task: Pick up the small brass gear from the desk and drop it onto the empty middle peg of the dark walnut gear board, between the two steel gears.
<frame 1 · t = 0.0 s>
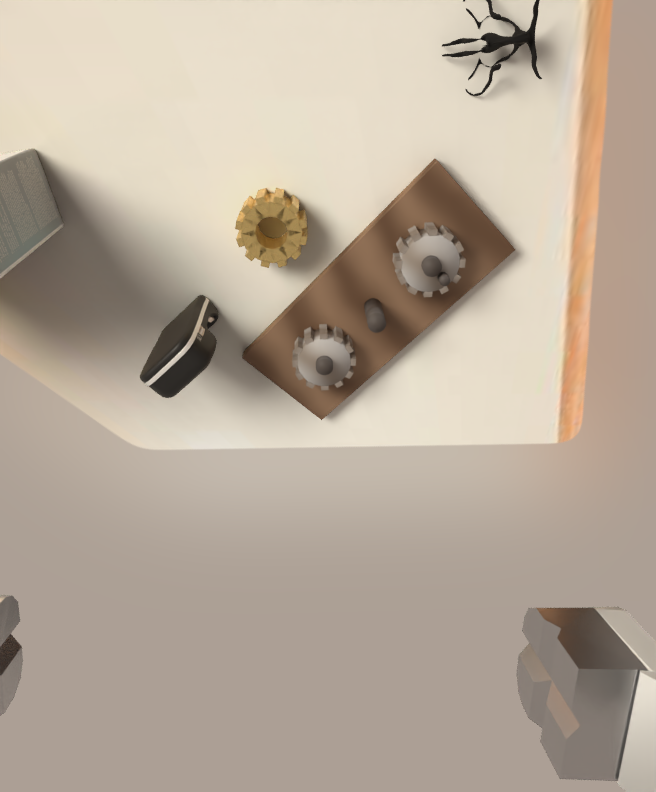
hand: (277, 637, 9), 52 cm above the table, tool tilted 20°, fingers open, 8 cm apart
brass gear: (273, 222, 57), on the table
battery charger: (195, 322, 63), on the table
creature: (482, 43, 50), on the table
gear board: (371, 300, 62), on the table
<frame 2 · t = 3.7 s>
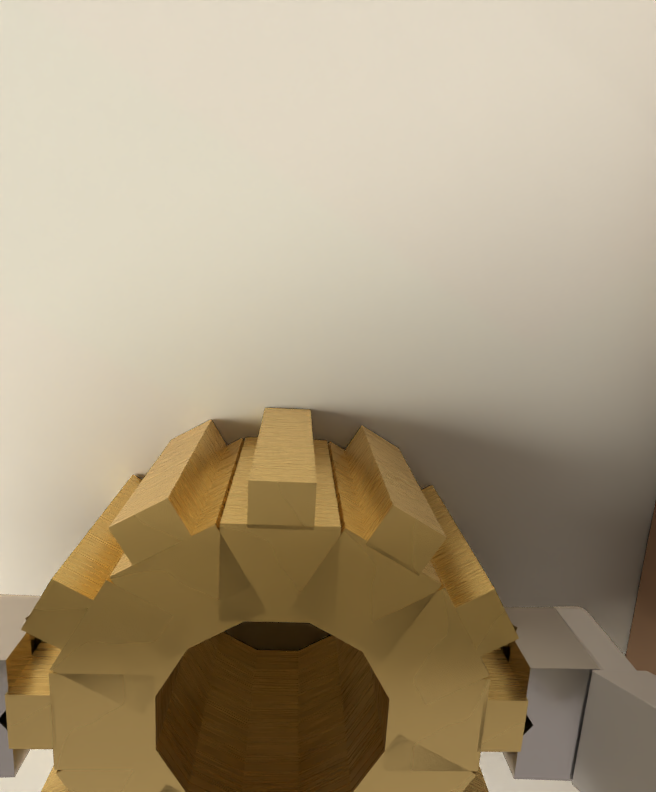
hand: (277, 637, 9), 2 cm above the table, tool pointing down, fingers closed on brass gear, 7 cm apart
brass gear: (280, 580, 11), on the table, touching gripper
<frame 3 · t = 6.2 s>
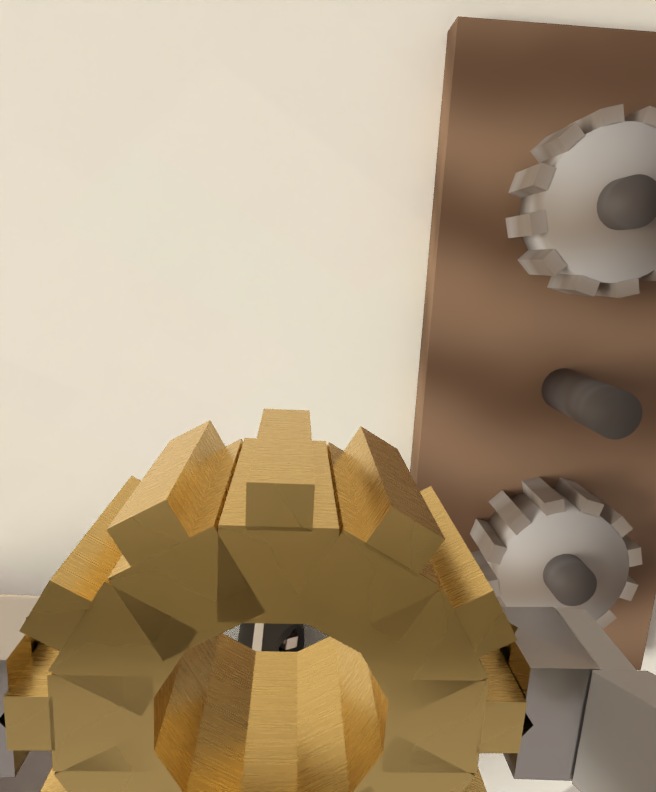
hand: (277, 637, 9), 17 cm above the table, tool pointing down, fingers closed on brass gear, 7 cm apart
brass gear: (279, 581, 11), point 16 cm above the table, touching gripper
battery charger: (275, 661, 29), on the table
gear board: (547, 381, 27), on the table
when the fingers open (6 cm above the table, at t = 8.9 s): brass gear drops 3 cm, resting on gear board.
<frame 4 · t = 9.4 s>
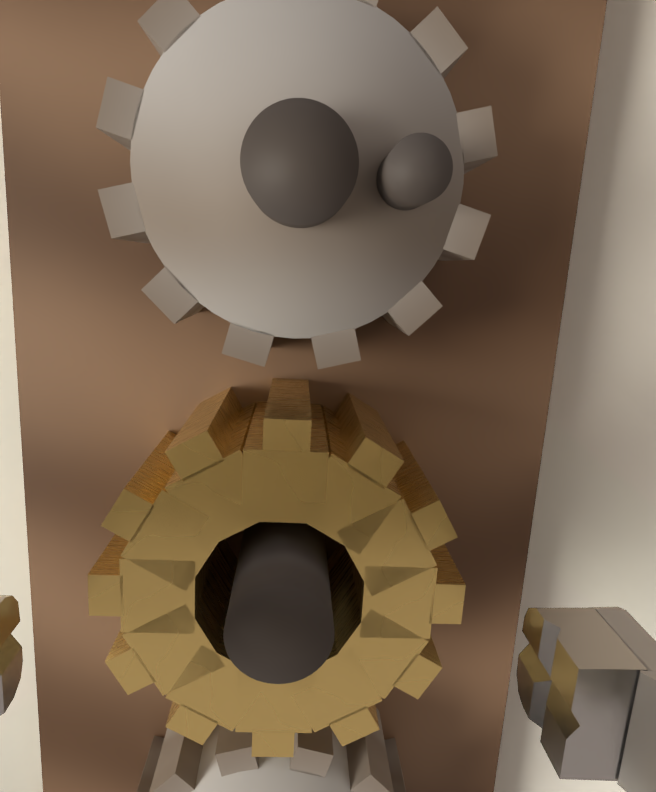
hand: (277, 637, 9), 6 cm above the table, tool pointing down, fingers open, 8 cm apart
brass gear: (284, 517, 14), point 1 cm above the table, touching gear board
gear board: (286, 493, 15), on the table
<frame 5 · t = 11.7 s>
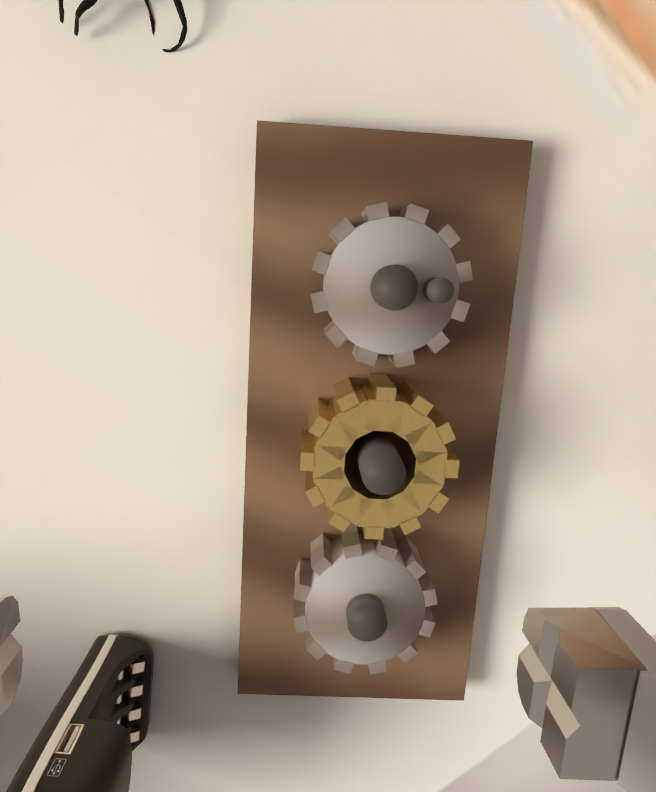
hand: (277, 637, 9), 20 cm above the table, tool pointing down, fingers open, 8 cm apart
brass gear: (371, 442, 28), point 1 cm above the table, touching gear board
battery charger: (131, 684, 32), on the table
gear board: (368, 434, 29), on the table
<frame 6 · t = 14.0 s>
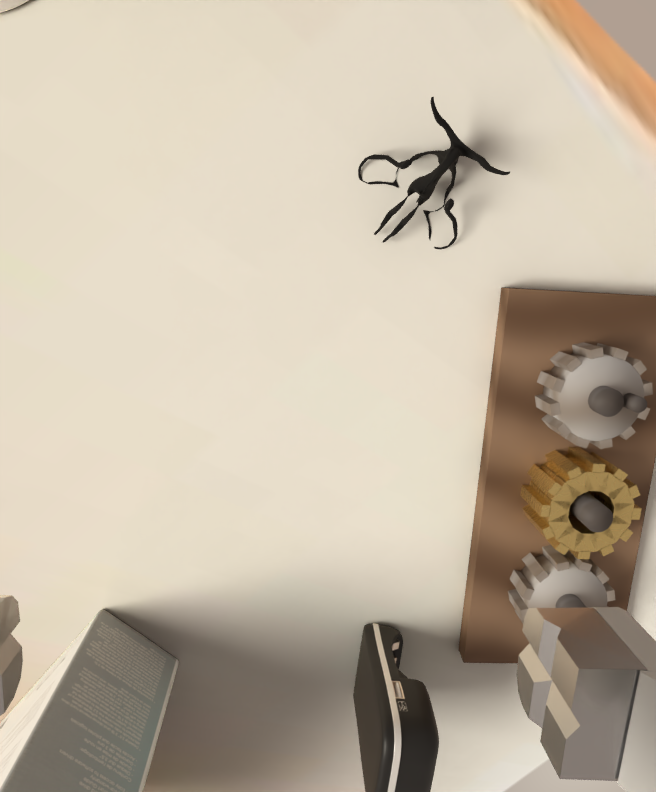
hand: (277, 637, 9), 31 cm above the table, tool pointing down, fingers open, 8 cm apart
brass gear: (567, 492, 41), point 1 cm above the table, touching gear board
hard drive box: (83, 698, 45), on the table
battery charger: (381, 657, 46), on the table
creature: (414, 194, 38), on the table
gear board: (558, 484, 43), on the table
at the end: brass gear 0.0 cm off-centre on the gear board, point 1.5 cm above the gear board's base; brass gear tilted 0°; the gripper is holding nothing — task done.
